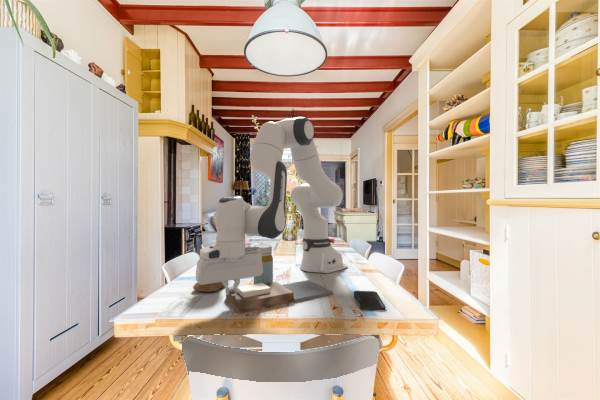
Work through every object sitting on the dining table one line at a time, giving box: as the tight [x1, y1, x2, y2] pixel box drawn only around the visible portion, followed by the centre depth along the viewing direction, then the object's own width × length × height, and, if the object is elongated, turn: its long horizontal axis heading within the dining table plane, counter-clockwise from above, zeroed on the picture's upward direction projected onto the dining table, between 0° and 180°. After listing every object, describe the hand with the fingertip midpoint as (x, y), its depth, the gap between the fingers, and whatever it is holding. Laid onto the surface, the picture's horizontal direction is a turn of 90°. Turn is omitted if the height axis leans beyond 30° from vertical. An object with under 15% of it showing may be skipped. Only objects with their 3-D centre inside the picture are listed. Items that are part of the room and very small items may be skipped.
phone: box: [353, 290, 386, 311], centre depth 95 cm, size 8×1×15 cm
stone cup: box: [192, 281, 224, 293], centre depth 108 cm, size 15×12×15 cm
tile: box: [237, 283, 271, 297], centre depth 94 cm, size 9×6×2 cm, turn 121°
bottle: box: [253, 244, 274, 284], centre depth 109 cm, size 7×7×15 cm
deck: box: [225, 281, 294, 314], centre depth 95 cm, size 18×13×3 cm
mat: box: [281, 279, 334, 303], centre depth 104 cm, size 15×15×1 cm
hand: (231, 293), depth 90 cm, fingers closed
